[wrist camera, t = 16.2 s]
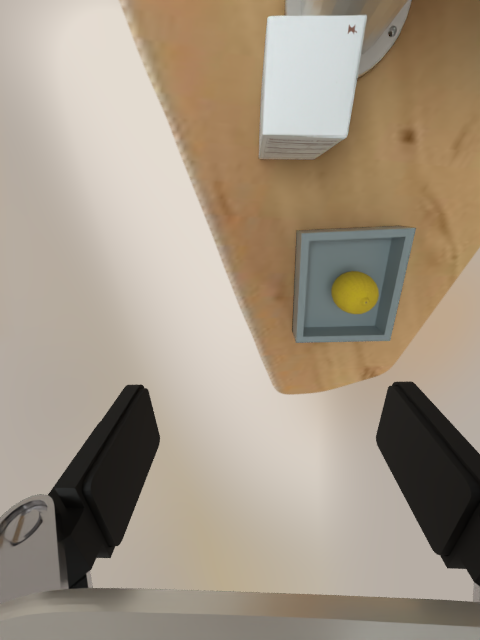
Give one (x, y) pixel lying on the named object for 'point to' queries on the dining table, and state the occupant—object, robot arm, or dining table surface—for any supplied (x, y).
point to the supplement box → (308, 83)
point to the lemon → (355, 292)
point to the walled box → (338, 258)
